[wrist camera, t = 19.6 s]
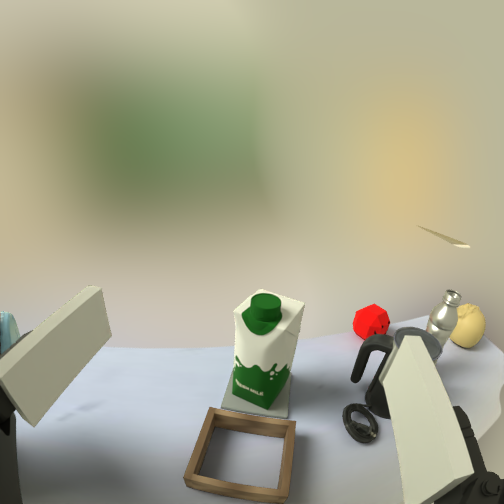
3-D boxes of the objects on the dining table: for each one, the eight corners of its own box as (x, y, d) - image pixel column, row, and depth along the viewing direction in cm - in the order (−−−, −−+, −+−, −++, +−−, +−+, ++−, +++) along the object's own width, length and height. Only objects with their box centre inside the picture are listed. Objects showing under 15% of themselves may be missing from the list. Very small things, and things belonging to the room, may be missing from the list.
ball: (369, 349, 57) (379, 323, 54) (345, 332, 63) (353, 306, 60) (387, 337, 61) (397, 312, 58) (364, 322, 67) (372, 297, 64)
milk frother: (405, 386, 45) (435, 329, 40) (412, 448, 31) (458, 392, 25) (341, 378, 49) (363, 318, 43) (334, 443, 34) (367, 385, 29)
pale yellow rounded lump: (455, 324, 65) (468, 293, 61) (481, 345, 54) (497, 313, 50) (436, 334, 61) (450, 300, 57) (464, 357, 51) (482, 323, 47)
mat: (220, 408, 41) (220, 406, 41) (234, 365, 51) (234, 363, 51) (286, 419, 39) (287, 417, 39) (290, 374, 50) (291, 372, 49)
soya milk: (224, 395, 43) (227, 297, 36) (250, 366, 51) (259, 273, 43) (270, 416, 39) (290, 320, 32) (292, 382, 47) (313, 289, 39)
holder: (186, 486, 26) (183, 477, 25) (210, 420, 38) (209, 406, 37) (282, 504, 25) (288, 496, 23) (291, 433, 37) (296, 421, 35)
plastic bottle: (405, 381, 46) (444, 299, 39) (403, 361, 52) (435, 283, 45) (430, 384, 44) (472, 305, 37) (426, 364, 50) (461, 288, 43)
